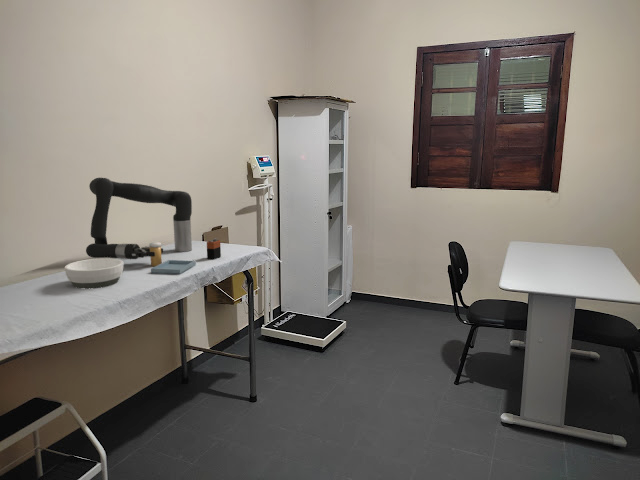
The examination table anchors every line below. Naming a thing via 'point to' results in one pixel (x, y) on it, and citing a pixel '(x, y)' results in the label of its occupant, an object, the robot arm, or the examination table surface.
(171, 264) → the tray
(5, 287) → the examination table surface
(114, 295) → the examination table surface
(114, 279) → the bowl
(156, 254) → the pill bottle
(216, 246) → the battery
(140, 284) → the examination table surface
